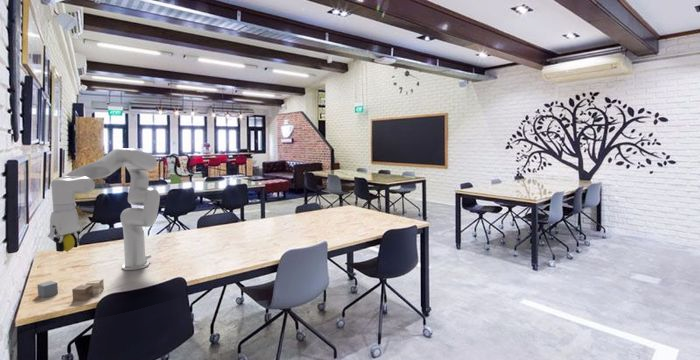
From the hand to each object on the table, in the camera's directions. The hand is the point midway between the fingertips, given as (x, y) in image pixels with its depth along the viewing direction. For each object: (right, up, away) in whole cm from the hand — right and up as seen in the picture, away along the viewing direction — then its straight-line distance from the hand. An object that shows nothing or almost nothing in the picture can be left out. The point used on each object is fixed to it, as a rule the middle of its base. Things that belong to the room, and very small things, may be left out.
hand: (67, 248), depth 161 cm
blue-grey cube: (-9, -20, +2) cm, 22 cm away
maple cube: (+9, -20, +5) cm, 22 cm away
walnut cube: (+8, -21, -2) cm, 22 cm away
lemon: (0, -2, 0) cm, 1 cm away
